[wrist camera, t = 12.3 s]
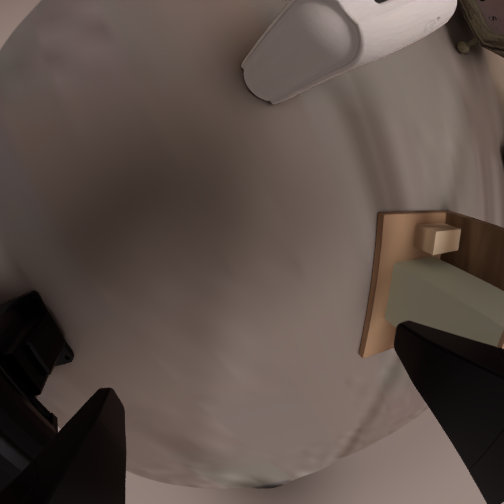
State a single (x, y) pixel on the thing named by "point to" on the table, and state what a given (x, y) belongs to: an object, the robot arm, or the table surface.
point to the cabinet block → (446, 300)
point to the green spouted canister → (484, 24)
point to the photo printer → (334, 40)
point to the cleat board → (421, 246)
